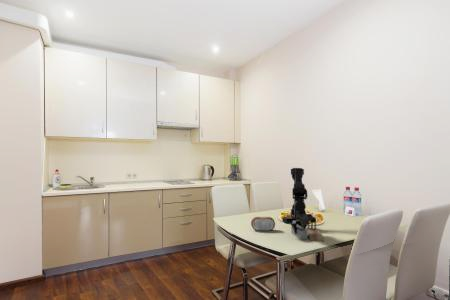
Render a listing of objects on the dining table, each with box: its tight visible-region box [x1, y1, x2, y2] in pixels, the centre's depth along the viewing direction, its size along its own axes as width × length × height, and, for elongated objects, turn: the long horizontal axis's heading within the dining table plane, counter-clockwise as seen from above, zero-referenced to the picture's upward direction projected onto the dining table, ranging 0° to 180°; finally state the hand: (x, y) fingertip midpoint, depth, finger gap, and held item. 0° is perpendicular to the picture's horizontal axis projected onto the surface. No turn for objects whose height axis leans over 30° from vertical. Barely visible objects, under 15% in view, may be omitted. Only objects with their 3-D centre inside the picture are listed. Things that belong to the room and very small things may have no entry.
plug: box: [290, 224, 308, 241], centre depth 149 cm, size 4×12×5 cm, turn 11°
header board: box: [305, 221, 325, 242], centre depth 151 cm, size 7×19×6 cm, turn 170°
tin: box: [250, 216, 276, 232], centre depth 160 cm, size 15×3×8 cm, turn 92°
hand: (299, 234), depth 149 cm, fingers closed on plug, 4 cm apart
